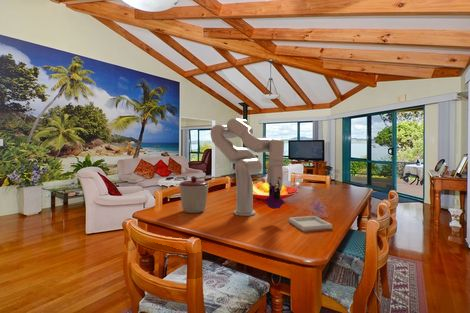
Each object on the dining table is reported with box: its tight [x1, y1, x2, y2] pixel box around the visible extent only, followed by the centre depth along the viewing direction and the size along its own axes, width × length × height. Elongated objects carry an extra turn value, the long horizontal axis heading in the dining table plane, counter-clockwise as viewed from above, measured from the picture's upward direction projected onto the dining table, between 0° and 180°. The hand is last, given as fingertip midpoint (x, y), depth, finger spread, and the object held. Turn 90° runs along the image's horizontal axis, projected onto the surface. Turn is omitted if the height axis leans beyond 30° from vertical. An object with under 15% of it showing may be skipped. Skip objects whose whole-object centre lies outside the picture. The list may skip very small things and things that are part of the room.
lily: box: [308, 197, 328, 218], centre depth 145 cm, size 12×12×10 cm
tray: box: [288, 215, 333, 233], centre depth 128 cm, size 15×15×2 cm
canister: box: [178, 175, 210, 214], centre depth 153 cm, size 18×18×21 cm
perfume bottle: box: [264, 180, 285, 210], centre depth 133 cm, size 8×8×18 cm
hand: (274, 197), depth 134 cm, fingers closed on perfume bottle, 5 cm apart
